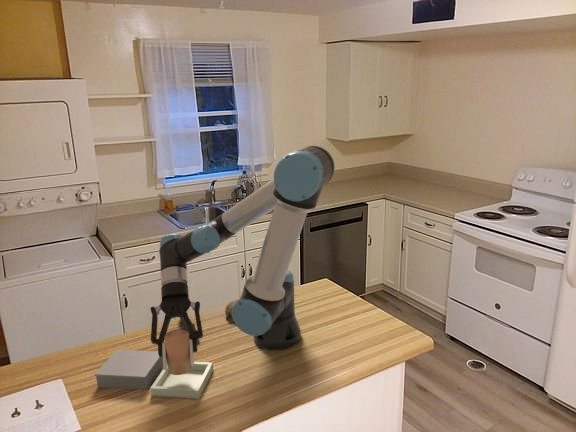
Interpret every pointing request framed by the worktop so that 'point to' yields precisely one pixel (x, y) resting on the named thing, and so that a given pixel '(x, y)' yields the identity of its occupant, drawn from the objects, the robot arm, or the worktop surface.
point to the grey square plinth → (129, 370)
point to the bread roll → (230, 310)
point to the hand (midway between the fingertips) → (178, 366)
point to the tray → (183, 382)
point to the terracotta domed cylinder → (178, 351)
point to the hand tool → (186, 327)
